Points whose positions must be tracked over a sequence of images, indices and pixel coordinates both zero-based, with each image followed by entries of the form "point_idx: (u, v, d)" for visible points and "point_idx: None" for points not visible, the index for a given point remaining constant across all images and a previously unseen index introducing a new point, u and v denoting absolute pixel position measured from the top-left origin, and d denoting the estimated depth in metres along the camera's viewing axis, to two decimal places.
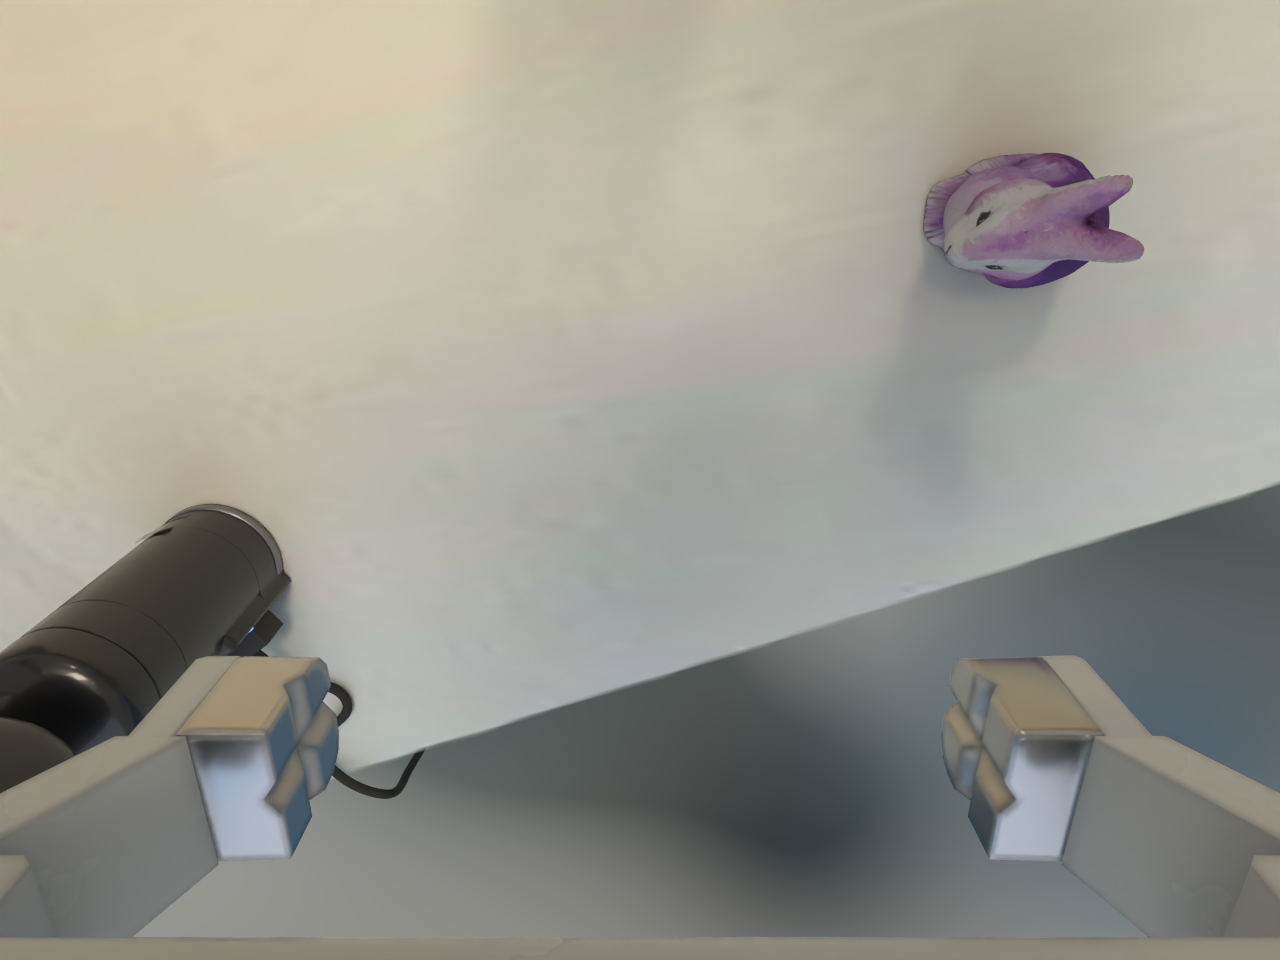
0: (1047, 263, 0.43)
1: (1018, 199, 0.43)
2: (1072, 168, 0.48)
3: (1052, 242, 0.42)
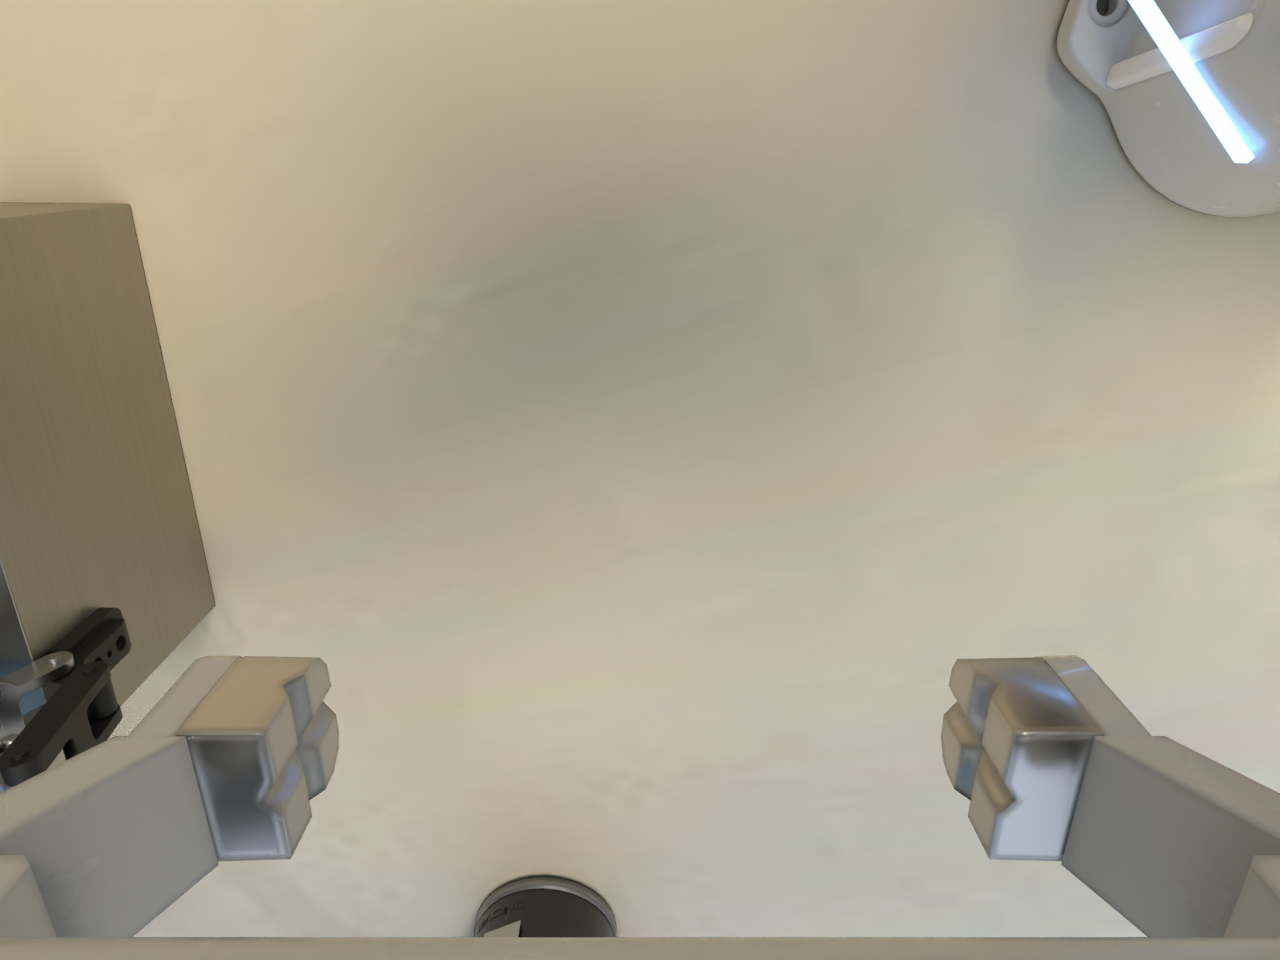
0: None
1: None
2: None
3: None
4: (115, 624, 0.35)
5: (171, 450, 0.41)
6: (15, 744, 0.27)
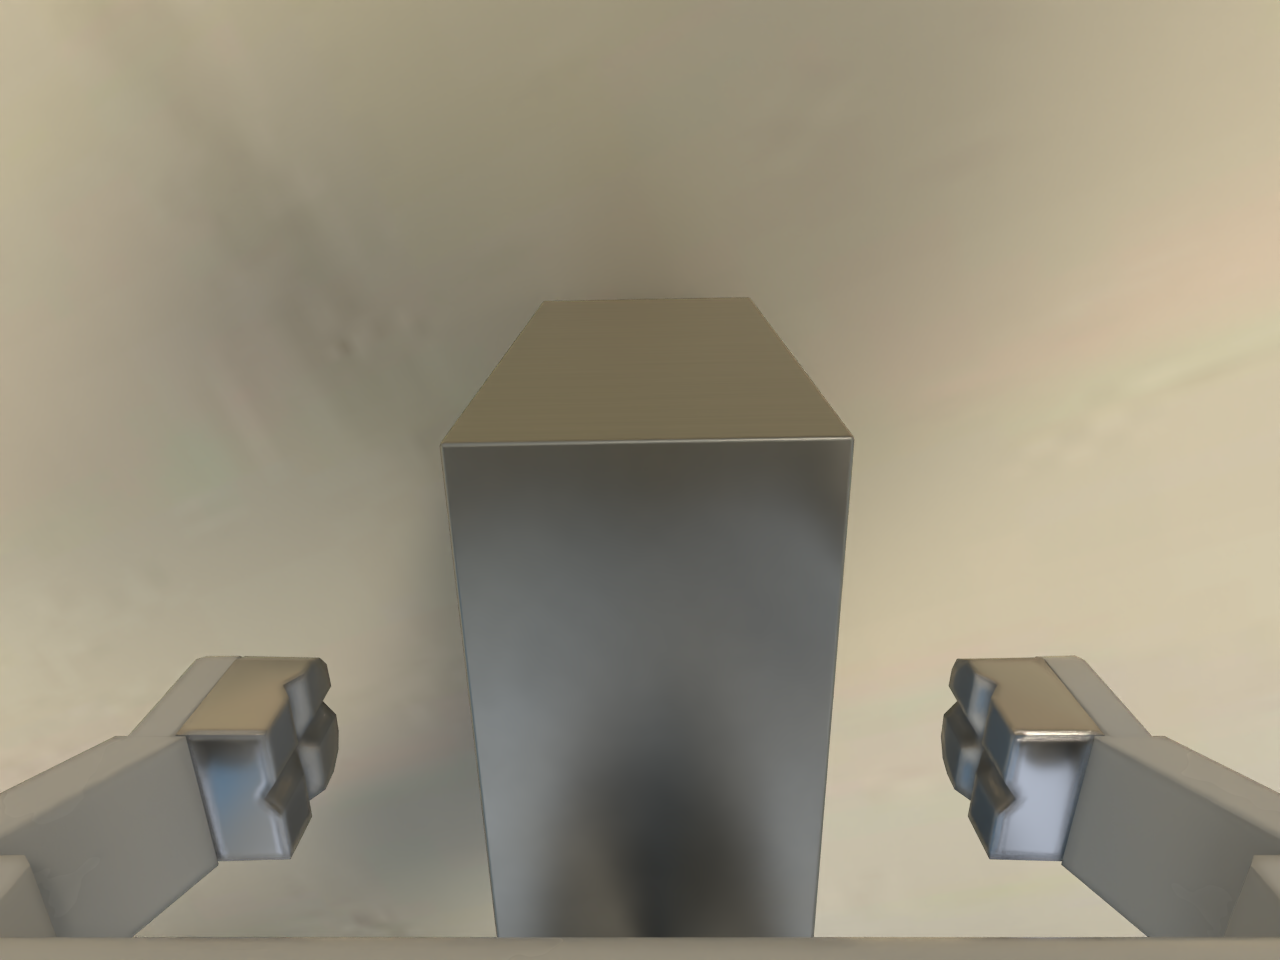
0: None
1: None
2: None
3: None
4: None
5: None
6: None
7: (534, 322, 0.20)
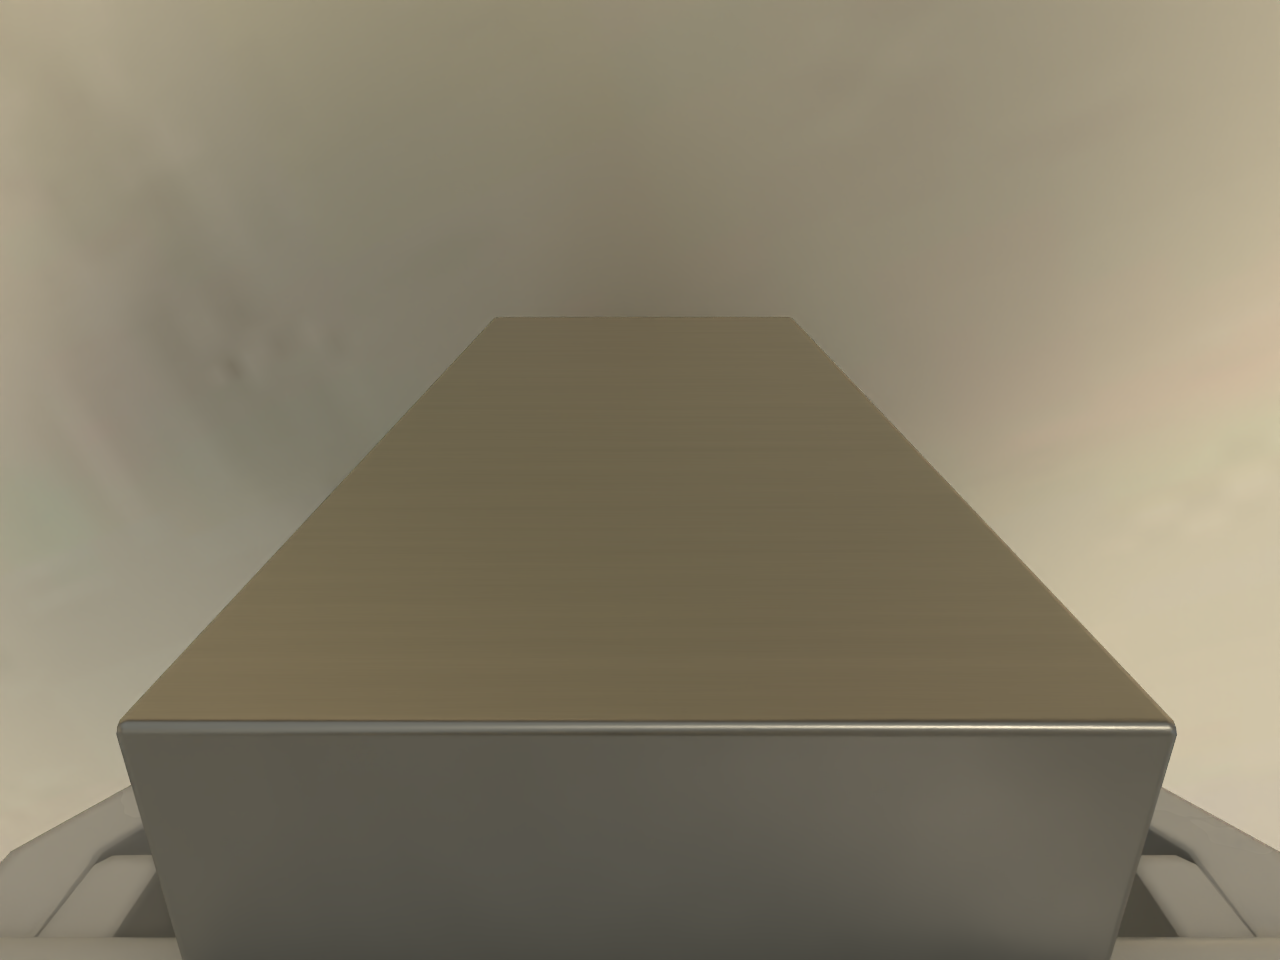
0: None
1: None
2: None
3: None
4: None
5: None
6: None
7: (469, 354, 0.13)
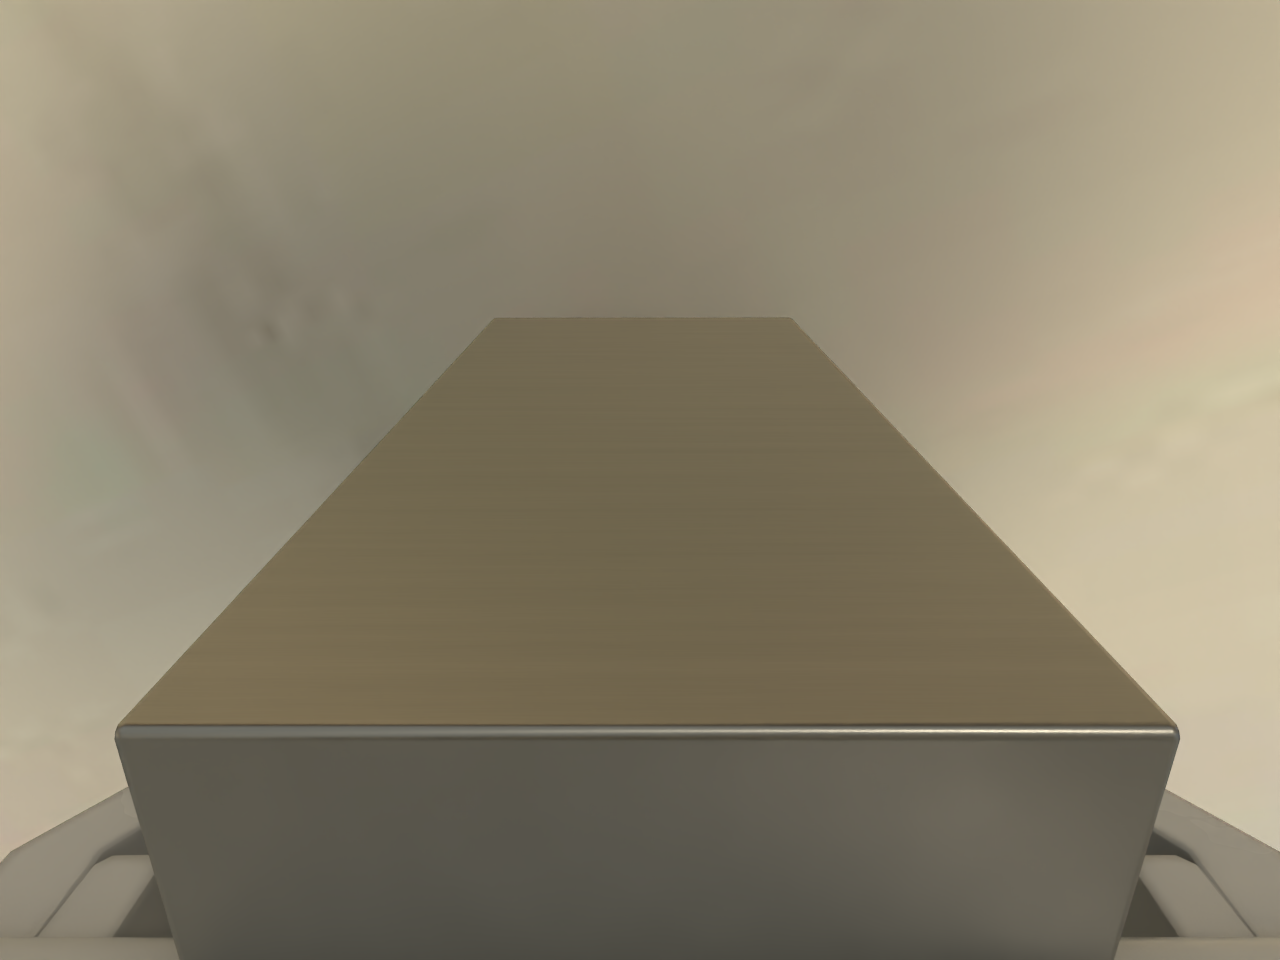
0: None
1: None
2: None
3: None
4: None
5: None
6: None
7: (469, 355, 0.13)
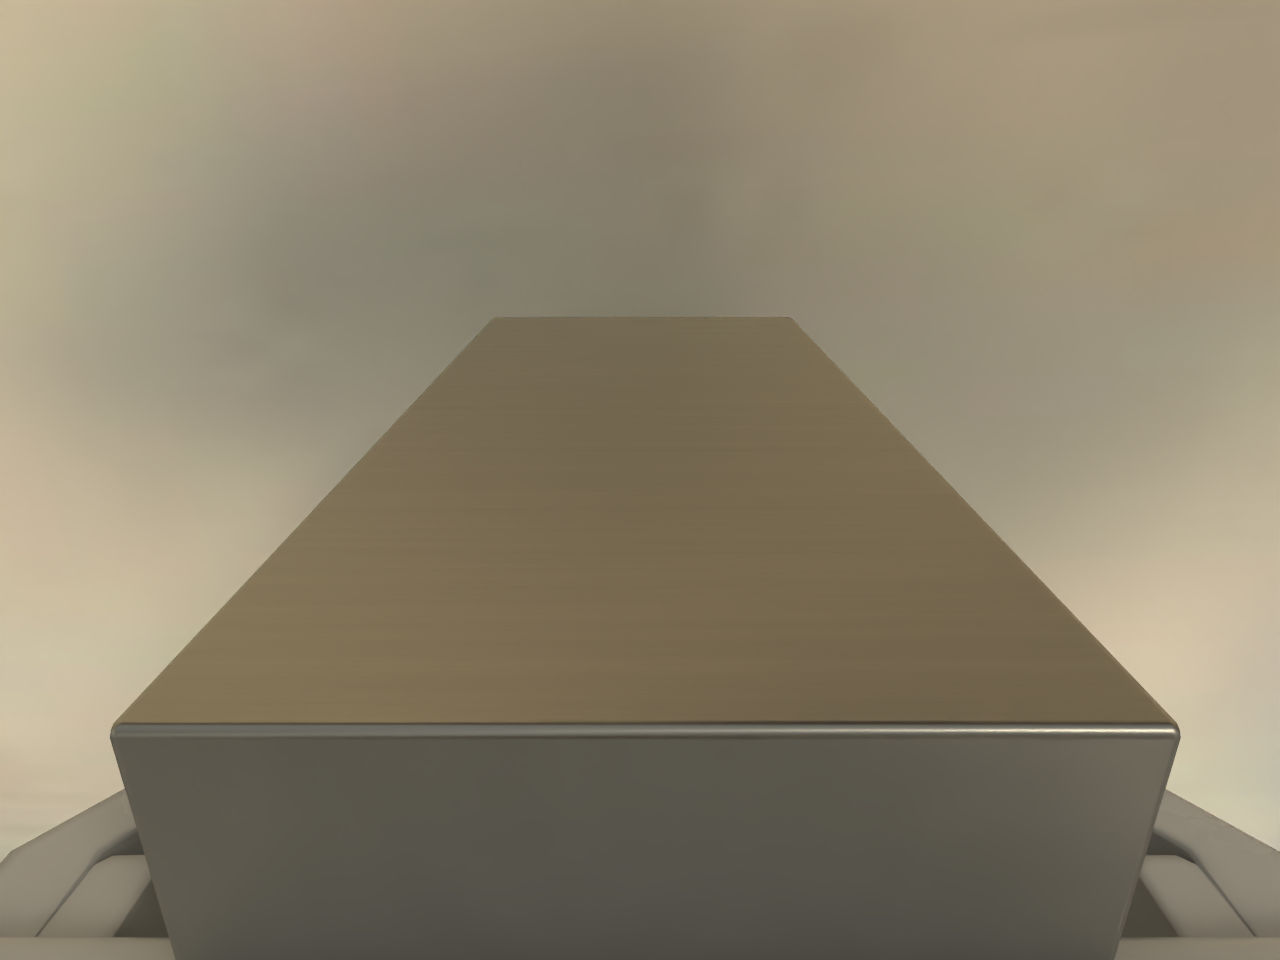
0: None
1: None
2: None
3: None
4: None
5: None
6: None
7: (468, 354, 0.13)
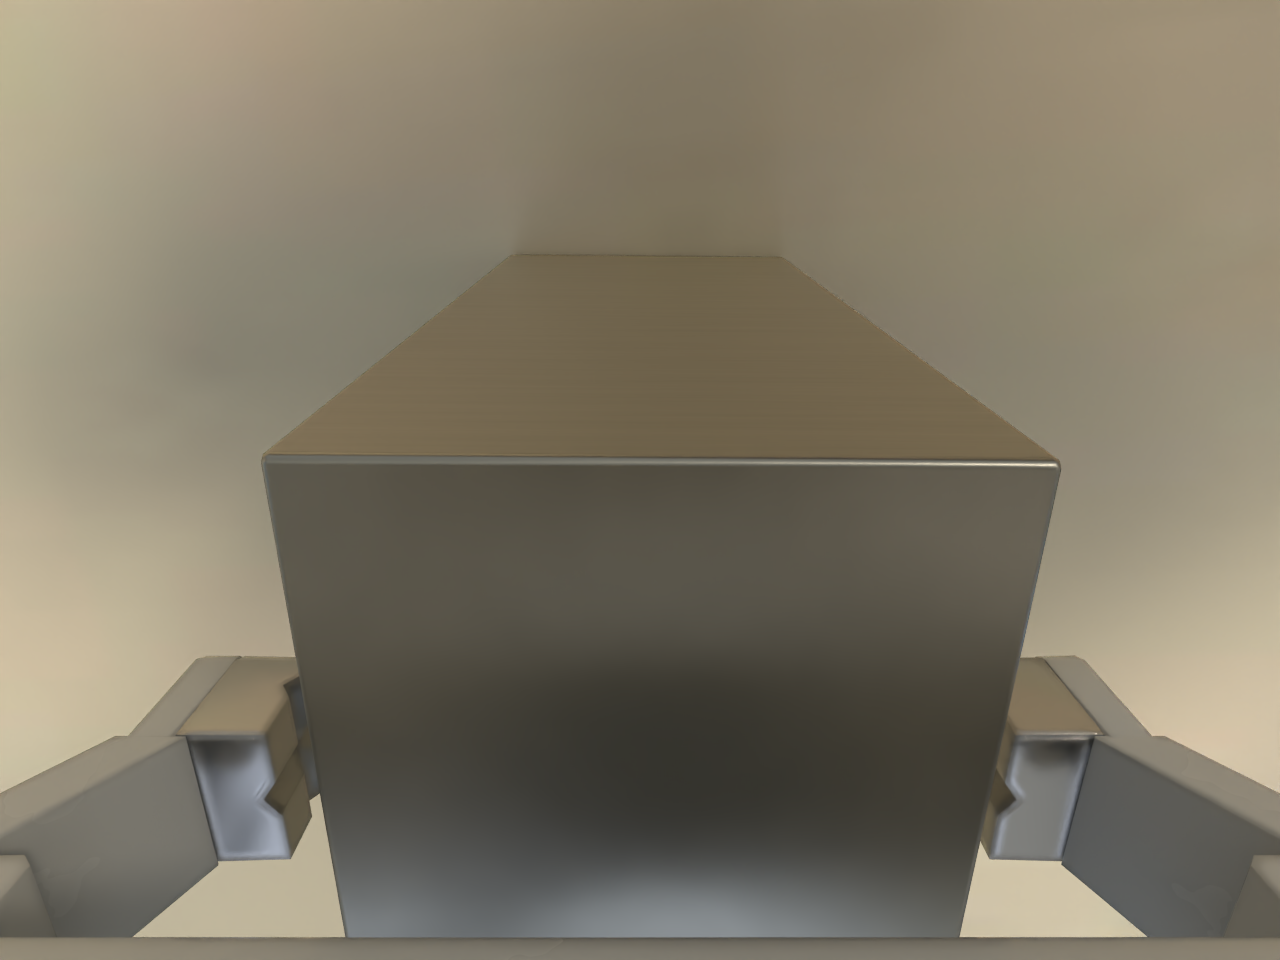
0: None
1: None
2: None
3: None
4: None
5: None
6: None
7: (492, 276, 0.14)
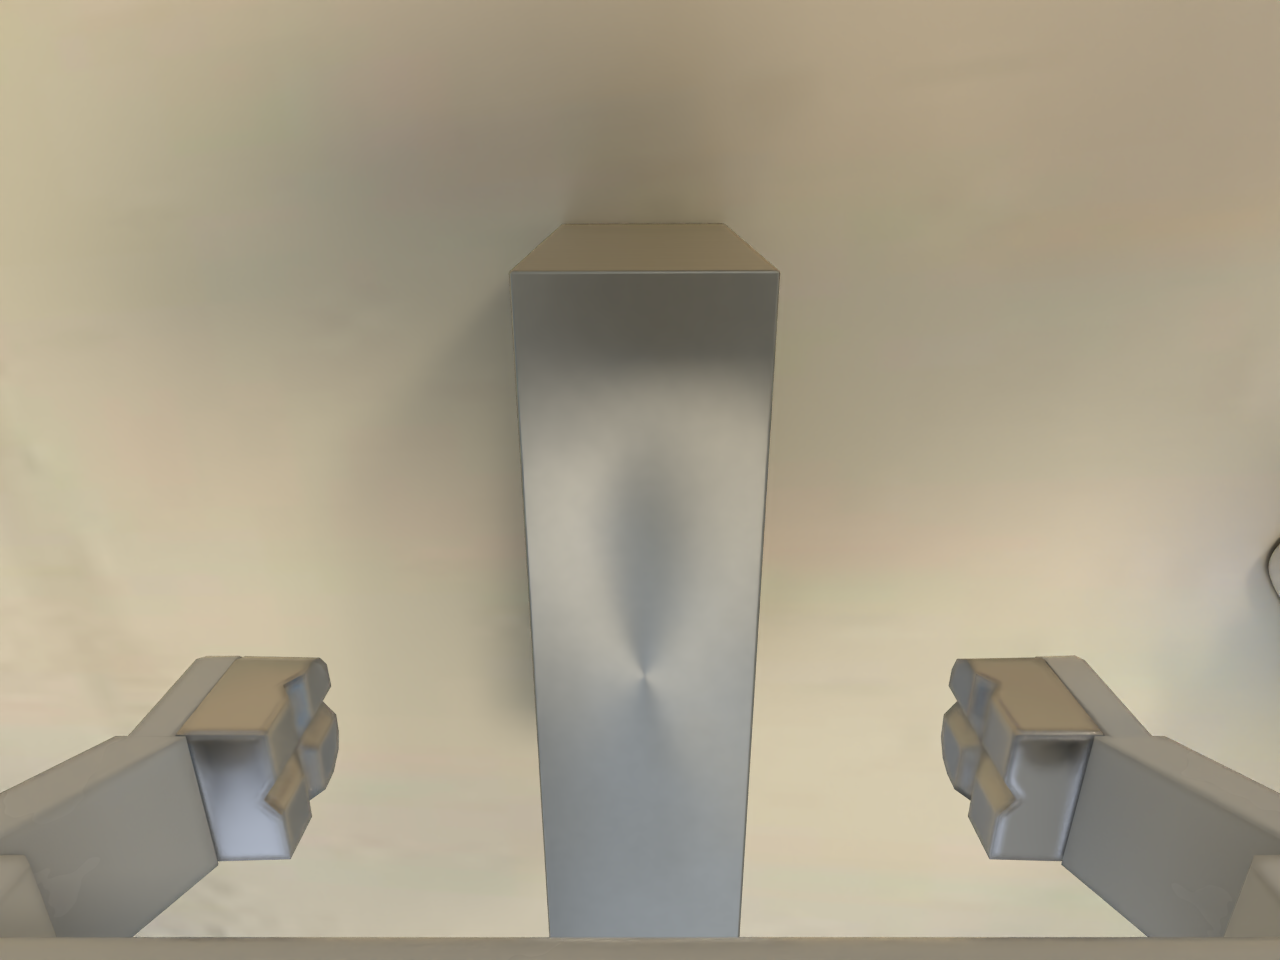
0: None
1: None
2: None
3: None
4: None
5: None
6: None
7: (557, 232, 0.26)
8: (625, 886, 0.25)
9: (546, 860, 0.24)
